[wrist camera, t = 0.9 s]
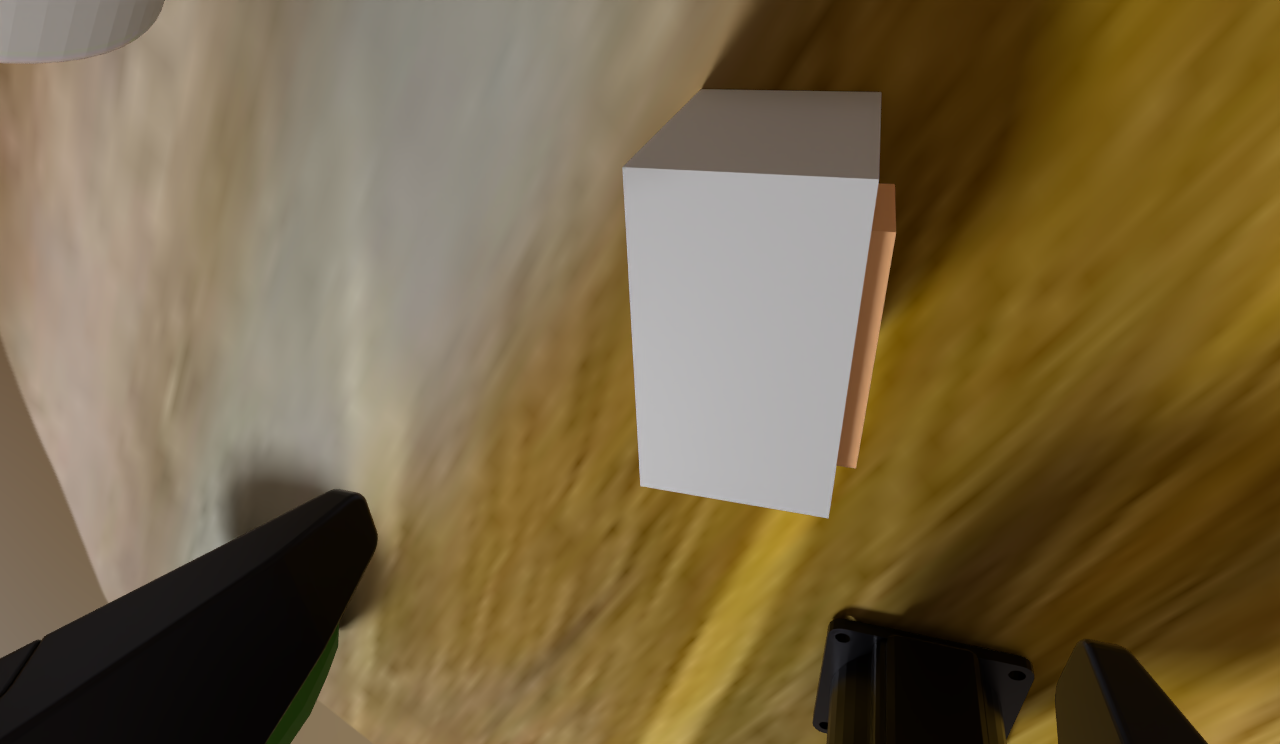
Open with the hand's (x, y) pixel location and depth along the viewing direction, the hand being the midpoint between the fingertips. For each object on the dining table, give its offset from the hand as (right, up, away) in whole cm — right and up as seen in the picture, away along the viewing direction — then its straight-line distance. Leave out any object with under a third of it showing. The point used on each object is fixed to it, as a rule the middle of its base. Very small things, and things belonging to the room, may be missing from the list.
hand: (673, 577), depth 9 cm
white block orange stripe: (+3, +6, +9) cm, 11 cm away
